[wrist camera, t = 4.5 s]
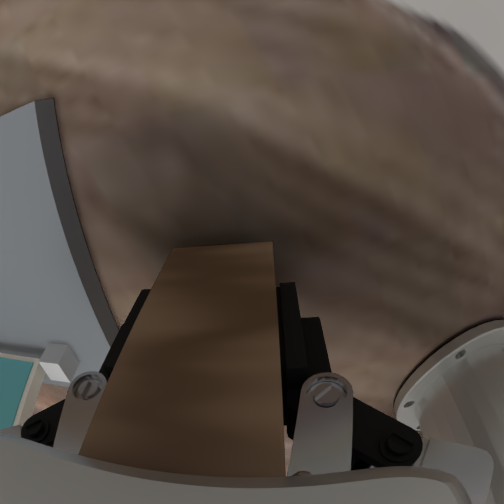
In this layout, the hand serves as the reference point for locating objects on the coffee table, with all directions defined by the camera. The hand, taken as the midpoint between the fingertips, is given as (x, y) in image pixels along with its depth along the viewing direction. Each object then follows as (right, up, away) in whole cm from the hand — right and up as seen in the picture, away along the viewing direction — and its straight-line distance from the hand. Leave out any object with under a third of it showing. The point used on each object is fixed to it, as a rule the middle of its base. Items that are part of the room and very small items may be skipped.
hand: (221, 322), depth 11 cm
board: (-17, +1, +4) cm, 17 cm away
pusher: (0, +1, +2) cm, 2 cm away
